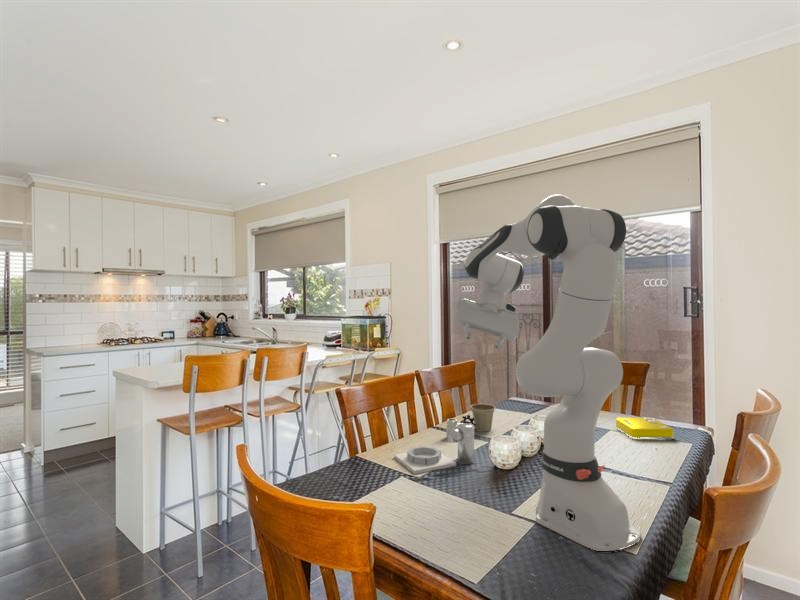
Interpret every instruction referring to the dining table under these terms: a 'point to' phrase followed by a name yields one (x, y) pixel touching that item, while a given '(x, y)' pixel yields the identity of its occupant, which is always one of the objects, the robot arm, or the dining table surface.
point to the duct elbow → (463, 442)
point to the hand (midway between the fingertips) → (482, 342)
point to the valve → (453, 423)
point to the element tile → (644, 427)
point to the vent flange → (424, 459)
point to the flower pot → (482, 416)
